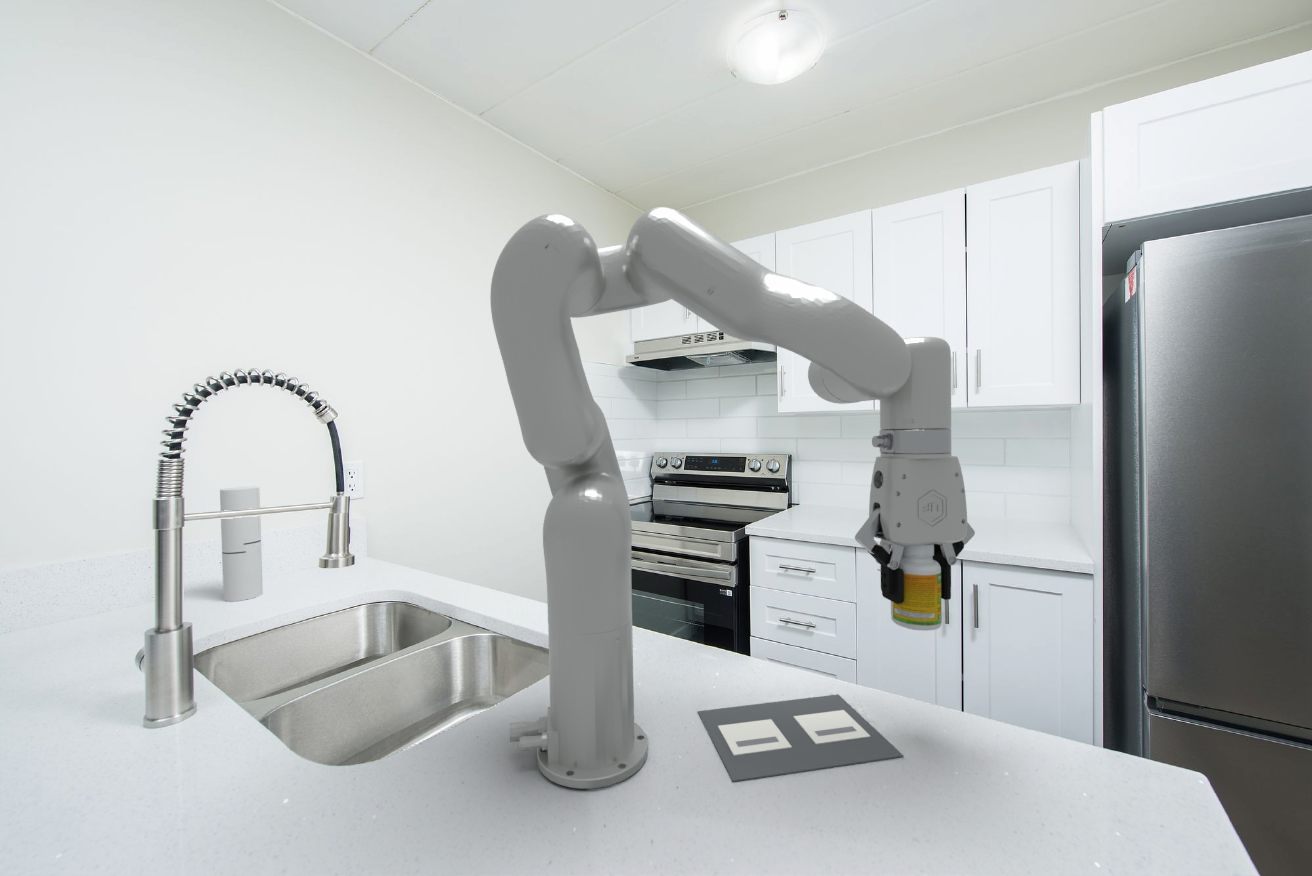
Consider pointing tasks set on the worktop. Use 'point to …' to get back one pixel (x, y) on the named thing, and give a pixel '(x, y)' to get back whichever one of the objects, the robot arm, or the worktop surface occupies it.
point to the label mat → (793, 737)
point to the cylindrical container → (241, 545)
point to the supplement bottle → (919, 590)
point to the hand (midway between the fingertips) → (916, 596)
